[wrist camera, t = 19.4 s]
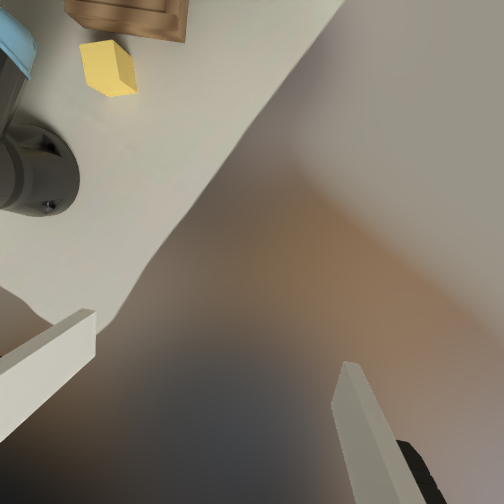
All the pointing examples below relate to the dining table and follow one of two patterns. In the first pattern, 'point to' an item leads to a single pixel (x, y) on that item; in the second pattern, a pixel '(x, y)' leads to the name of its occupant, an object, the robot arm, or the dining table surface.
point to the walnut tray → (133, 17)
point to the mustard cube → (108, 68)
